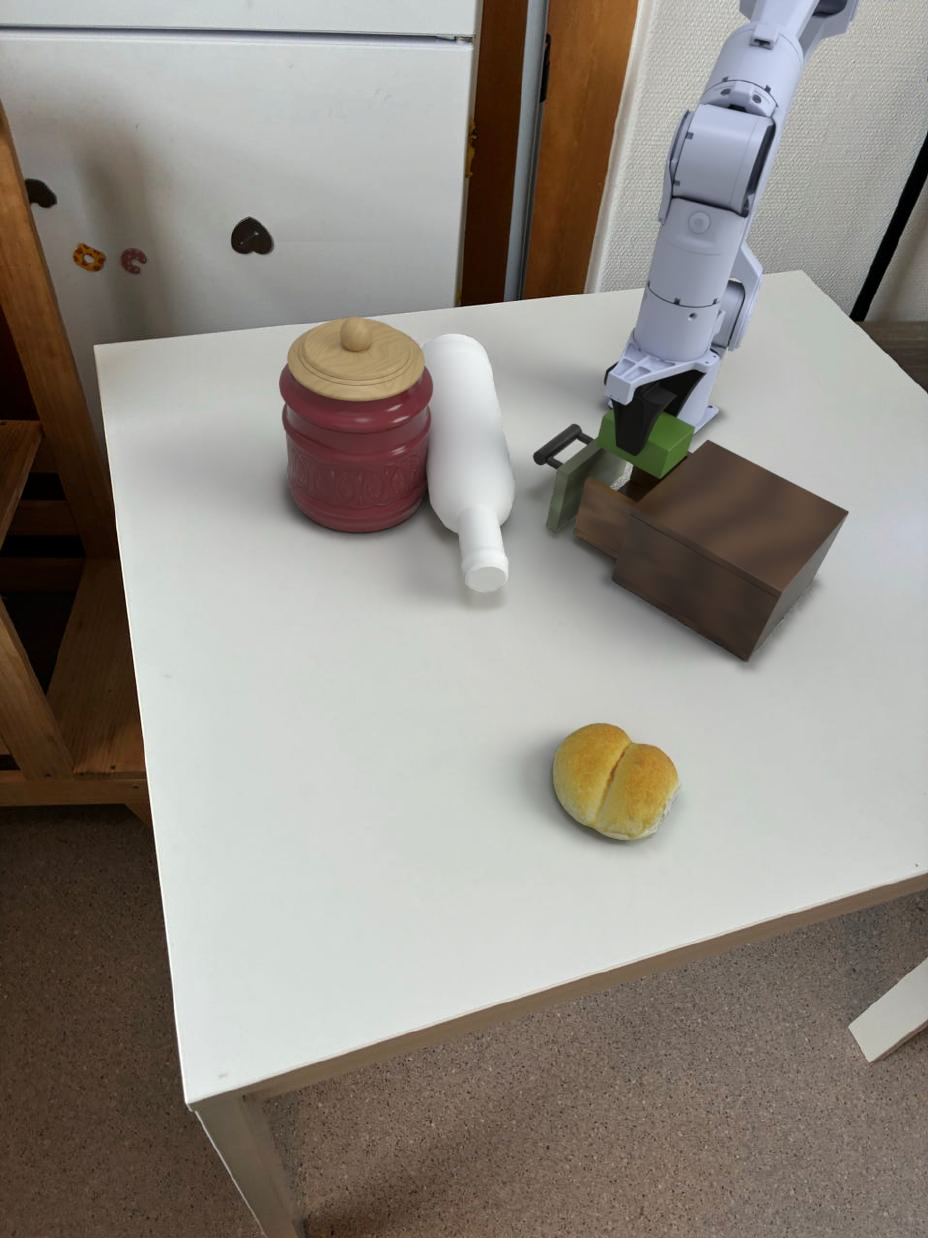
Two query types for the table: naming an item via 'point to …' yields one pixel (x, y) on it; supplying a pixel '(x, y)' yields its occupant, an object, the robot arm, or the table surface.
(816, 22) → the robot arm
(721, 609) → the cabinet
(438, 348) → the bottle
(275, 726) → the table surface
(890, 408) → the table surface
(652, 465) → the green block
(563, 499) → the drawer
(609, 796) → the bread roll
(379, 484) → the kitchen canister
